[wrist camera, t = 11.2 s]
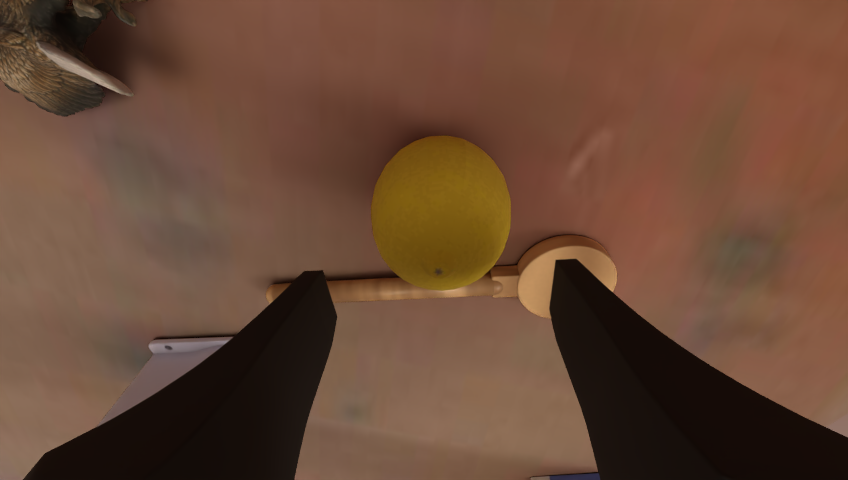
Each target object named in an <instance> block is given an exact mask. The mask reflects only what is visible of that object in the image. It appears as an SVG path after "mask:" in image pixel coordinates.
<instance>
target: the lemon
mask: <svg viewBox="0 0 848 480" xmlns="http://www.w3.org/2000/svg"><path fill="white" fill-rule="evenodd" d="M371 220H372V230H373V236H374V239H375V242H376V245H377V247H378V250H379V252H380V254H381V256H382V258H383V259H384V261H385V262H386V263H387V265H388V266H389V268H390V269H391V270H392V271H393V272H394V273H396V274H397V275H398V276H399V277H401V278H402V279H403V280H405V281H407V282H409V283H411V284H413V285H415V286H417V287H421V288H424V289H428V290H437V291H445V290H454V289H457V288H461V287H464V286H467V285H470V284H471V283H473V282H475V281H477V280H478V279H480V278H481V277H482V276H484V275H485V274H486V273H487V272H488V271H489V270H490V269H491V268H492V267H493V266H494V265H495V263H496V262H497V260H498V259H499V257H500V255H501V254H502V252H503V250H504V247H505V244H506V241H507V237H508V234H509V231H510V224H511V200H510V195H509V192H508V189H507V185H506V182H505V179H504V176H503V175H502V173H501V171H500V170H499V168H498V167H497V165H496V164H495V162H494V161H493V159H492V158H491V157H490V156H489V155H487V154H486V153H485V152H484V151H483V150H482V149H480V148H479V147H478V146H476V145H474V144H472V143H470V142H468V141H466V140H464V139H462V138H457V137H452V136H447V135H444V136H429V137H426V138H423V139H420V140H416V141H414V142H412V143H411V144H409V145H407V146H406V147H404V148H402V149H401V150H399V151H398V152H397V154H396V155H395V156H394V157H393V158H392V159H391V160H390V161H389V162H388V163H387V164H386V166H385V167H384V169H383V171H382V173H381V175H380V177H379V179H378V181H377V183H376V185H375V189H374V194H373V199H372V204H371Z"/></svg>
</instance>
